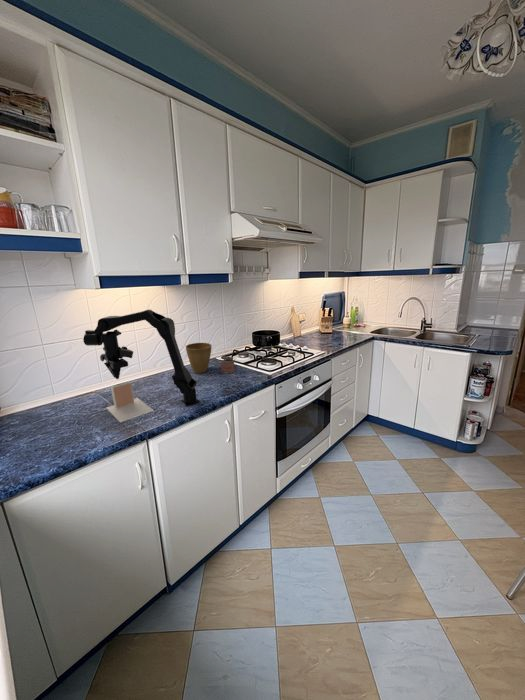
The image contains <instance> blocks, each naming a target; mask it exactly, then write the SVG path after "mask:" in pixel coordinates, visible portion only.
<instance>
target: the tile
mask: <svg viewBox="0 0 525 700" xmlns="http://www.w3.org/2000/svg"><path fill="white" fill-rule="evenodd" d="M110 387H111V388H110V389H111V395H112V401H113V405H114V407H115V408H119V407H122V406H125V405H128V404H131V403H134V399H135V397H134V391H133V385H132V382H131V381H130V380H128V381H125V382H120V383H118V384H114V385H110Z"/></svg>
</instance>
